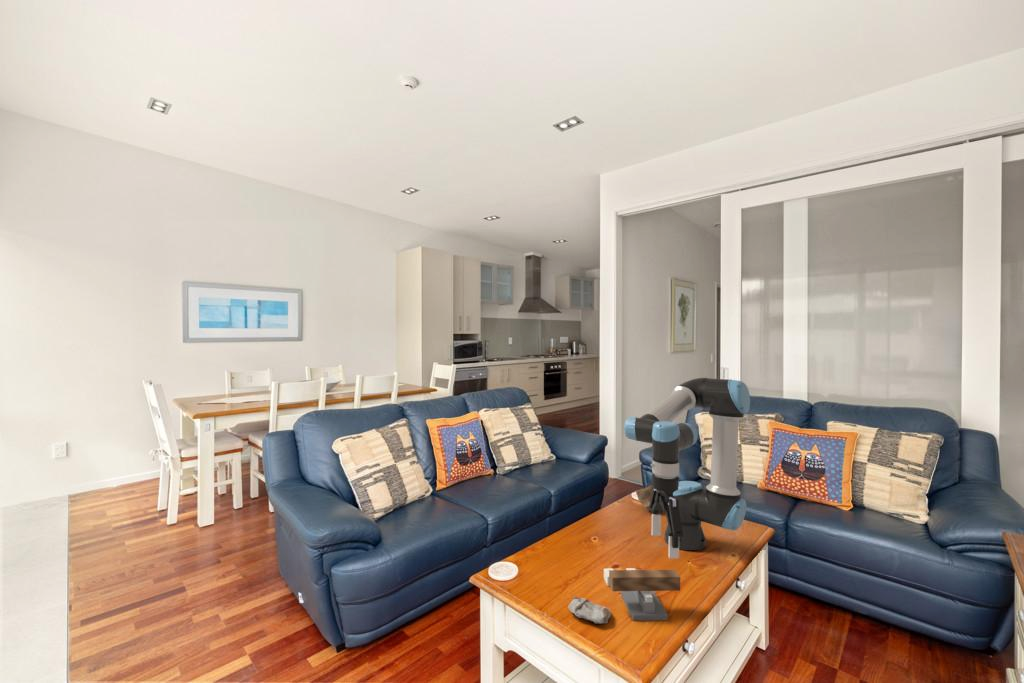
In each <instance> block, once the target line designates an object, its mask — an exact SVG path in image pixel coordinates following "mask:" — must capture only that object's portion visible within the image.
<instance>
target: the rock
mask: <svg viewBox="0 0 1024 683" xmlns="http://www.w3.org/2000/svg"><path fill="white" fill-rule="evenodd" d="M652 490H653V487H652V484H651V485H649V486H646V487H645V488H641V489H638V490H635V493H636V496H637V500H638V501H639V502H640V503H641V505H642V506H644V508H645V509H646V510H647V511H651V509H649V503H650V499H651V495H652Z"/></svg>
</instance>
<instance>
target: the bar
mask: <svg viewBox="0 0 1024 683" xmlns="http://www.w3.org/2000/svg"><path fill="white" fill-rule="evenodd" d="M609 585H610V586H609V587H610V589H611V592H621V591H654V592H658V591H659V592H663V591H664V592H666V591H668V592H670V591H675V592H676V591H677V592H679V591H681V576H680V575H679V573H678V572H677V571H676V569H636V570H626V569H617V570H616V569H613V570H609Z"/></svg>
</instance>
